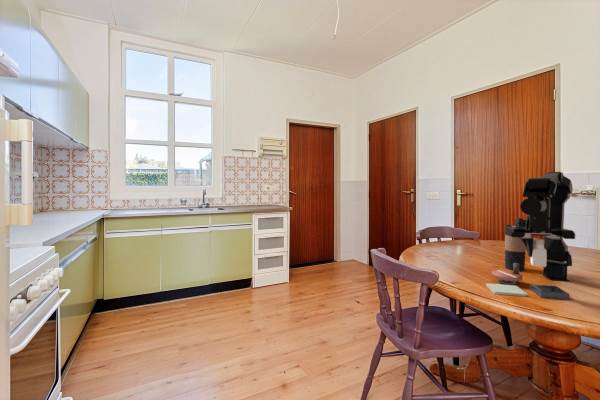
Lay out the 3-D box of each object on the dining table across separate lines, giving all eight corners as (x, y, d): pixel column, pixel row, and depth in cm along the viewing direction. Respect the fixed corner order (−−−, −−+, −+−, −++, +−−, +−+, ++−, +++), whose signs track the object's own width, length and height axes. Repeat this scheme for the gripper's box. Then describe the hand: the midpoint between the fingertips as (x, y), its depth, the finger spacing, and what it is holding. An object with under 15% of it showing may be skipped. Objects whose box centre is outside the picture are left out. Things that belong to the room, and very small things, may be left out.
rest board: (516, 287, 110) (516, 285, 110) (527, 296, 101) (527, 294, 101) (486, 285, 113) (486, 283, 112) (494, 293, 104) (494, 291, 104)
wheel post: (512, 280, 118) (512, 275, 118) (518, 285, 112) (518, 280, 112) (495, 279, 119) (495, 274, 119) (500, 284, 114) (500, 279, 114)
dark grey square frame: (555, 291, 105) (555, 285, 105) (569, 299, 98) (569, 293, 98) (529, 289, 108) (529, 284, 108) (541, 297, 100) (541, 291, 100)
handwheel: (529, 280, 111) (529, 267, 111) (504, 281, 110) (505, 268, 110) (508, 272, 121) (508, 260, 121) (485, 273, 120) (486, 261, 120)
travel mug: (519, 272, 129) (520, 227, 128) (501, 267, 135) (501, 225, 134) (528, 269, 132) (529, 226, 131) (510, 265, 139) (511, 224, 138)
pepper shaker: (532, 266, 102) (532, 239, 102) (530, 263, 106) (530, 237, 105) (546, 267, 100) (547, 240, 100) (544, 265, 104) (544, 238, 103)
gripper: (557, 211, 108) (555, 253, 108) (499, 211, 112) (498, 250, 113) (577, 214, 97) (575, 260, 98) (512, 213, 102) (511, 257, 102)
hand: (538, 257), depth 103 cm, fingers closed on pepper shaker, 4 cm apart
